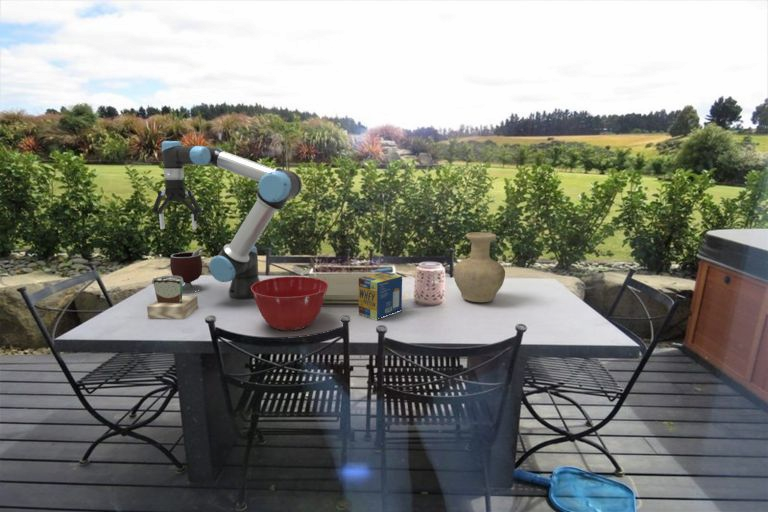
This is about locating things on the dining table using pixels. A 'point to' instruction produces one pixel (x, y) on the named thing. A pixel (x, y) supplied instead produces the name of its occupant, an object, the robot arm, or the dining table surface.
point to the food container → (168, 289)
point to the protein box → (380, 294)
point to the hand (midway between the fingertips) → (178, 228)
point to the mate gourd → (187, 268)
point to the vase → (479, 270)
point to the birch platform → (173, 308)
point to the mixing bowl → (289, 300)
